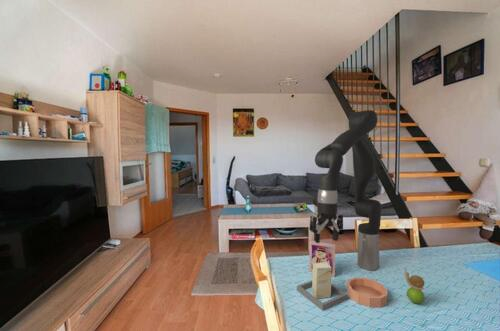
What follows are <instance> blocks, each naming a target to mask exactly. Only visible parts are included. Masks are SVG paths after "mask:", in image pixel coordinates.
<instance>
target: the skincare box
mask: <svg viewBox="0 0 500 331" xmlns="http://www.w3.org/2000/svg"><path fill="white" fill-rule="evenodd" d="M331 270H332V267H331V266H330V265H329V264H328V263H327V262H325V263H313V271H312V272H311V273H312V278H311V279H312V280H311V281H312V287H311V294H312V295H313V296H314V297H315V298H317V299H329V298H332V291H331V284H332V276H331Z"/></svg>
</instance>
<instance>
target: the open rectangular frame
mask: <svg viewBox="0 0 500 331" xmlns="http://www.w3.org/2000/svg"><path fill="white" fill-rule="evenodd" d="M310 288H312V280H309V281H307V282H304V283H301V284H298V285H296V292H298V293H299V294H301V295H302V296H303V297H304V298H306V299H307V300H308V301H310V302H311V303H312V304H314V305H315V306H316V307H317V308H318V309H320V311H322V312H323V311H325V310H327V309H329V308H332V307H334V306H336V305H339V304H341V303H344V302H346V301H348V297H349V295H348V294H347V292H345V291H343V290H341V289H340V288H338V287H337V286H335V285H334V284H332V283H331V293H334V294H335V295H337V296H336V297H333V298H331V299H328V300H326V301H324V302H322V301H321V300H319V298H316V297H315V296H314V295H313V294H312V293H310V292H309V291H307V289H310Z"/></svg>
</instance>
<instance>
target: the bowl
mask: <svg viewBox="0 0 500 331" xmlns="http://www.w3.org/2000/svg"><path fill="white" fill-rule="evenodd" d="M346 294H348V297H349V298H350V300H352V301H353V302H355V303H357V304H359V305H362V306H364V307H368V308H383V307H384V306H387V305H388V289H387V288H386V286H384V284H382V283H380V282H378V281H377V280H374V279H370V278H367V277H358V276H357V277H356V276H355V277H352V278H350V279H348V280H347V282H346Z"/></svg>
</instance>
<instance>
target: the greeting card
mask: <svg viewBox="0 0 500 331" xmlns="http://www.w3.org/2000/svg"><path fill="white" fill-rule="evenodd" d="M308 246H309V249H308V250H309V253H308V254H309V256H308V257H309V260H308V261H309V262H308V263H309V265H308V266H309V267H308V270H309V271H308V272H310V273H312V271H313V263H325V262H327V263H328V264H329V265H330V266H331V267H332V270H331V278H332V277H333V278H335V277H336V244H334V243H333V238H326V239H325V238H324V239H323V238H322V239H320V243H316V242H315V241H314V239H311V240H309V245H308Z"/></svg>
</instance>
